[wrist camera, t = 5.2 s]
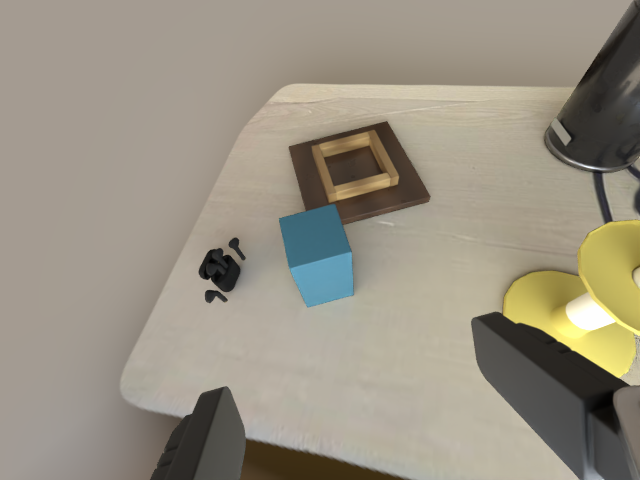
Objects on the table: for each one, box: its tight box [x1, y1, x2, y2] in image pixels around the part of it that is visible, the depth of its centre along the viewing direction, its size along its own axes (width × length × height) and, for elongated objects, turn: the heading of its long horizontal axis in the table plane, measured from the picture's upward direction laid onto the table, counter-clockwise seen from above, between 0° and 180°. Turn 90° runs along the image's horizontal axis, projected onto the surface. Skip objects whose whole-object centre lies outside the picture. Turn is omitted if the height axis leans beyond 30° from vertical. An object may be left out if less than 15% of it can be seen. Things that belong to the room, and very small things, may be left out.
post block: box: [279, 204, 354, 307], centre depth 27 cm, size 5×5×9 cm
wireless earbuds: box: [199, 238, 246, 303], centre depth 30 cm, size 7×2×5 cm, turn 165°
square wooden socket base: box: [289, 121, 430, 225], centre depth 37 cm, size 14×14×2 cm
